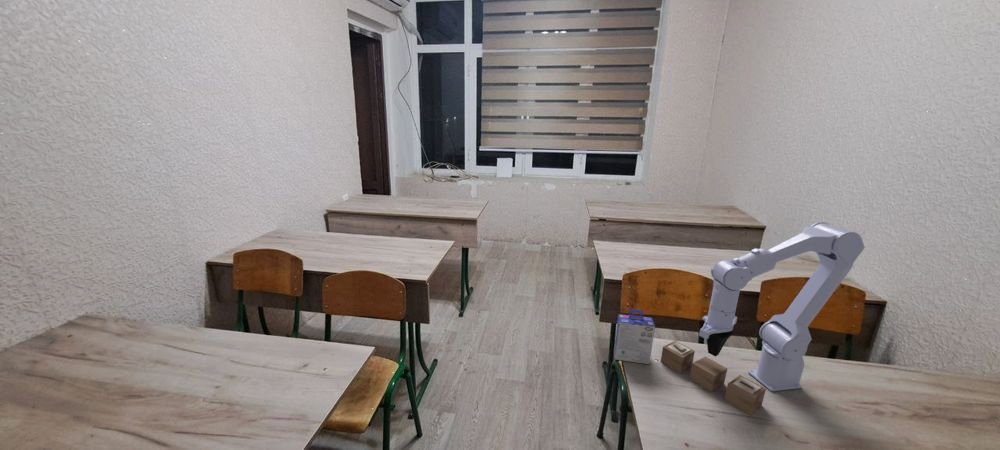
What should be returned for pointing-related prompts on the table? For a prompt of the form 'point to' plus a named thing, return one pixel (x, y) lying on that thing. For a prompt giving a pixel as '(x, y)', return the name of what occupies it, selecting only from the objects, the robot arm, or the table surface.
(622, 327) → the ink cartridge box
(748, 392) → the numbered block one
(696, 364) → the plain block
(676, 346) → the numbered block seven
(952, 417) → the table surface
